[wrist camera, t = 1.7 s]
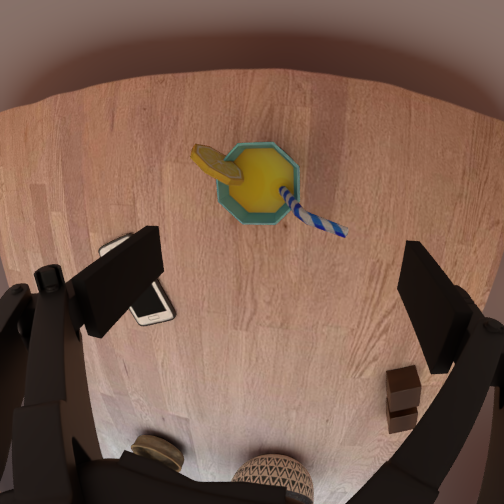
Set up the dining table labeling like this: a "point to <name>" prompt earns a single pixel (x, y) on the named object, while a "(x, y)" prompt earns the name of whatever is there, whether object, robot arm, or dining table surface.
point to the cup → (259, 184)
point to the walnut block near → (403, 388)
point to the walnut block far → (401, 419)
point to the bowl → (158, 451)
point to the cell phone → (146, 297)
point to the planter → (278, 475)
